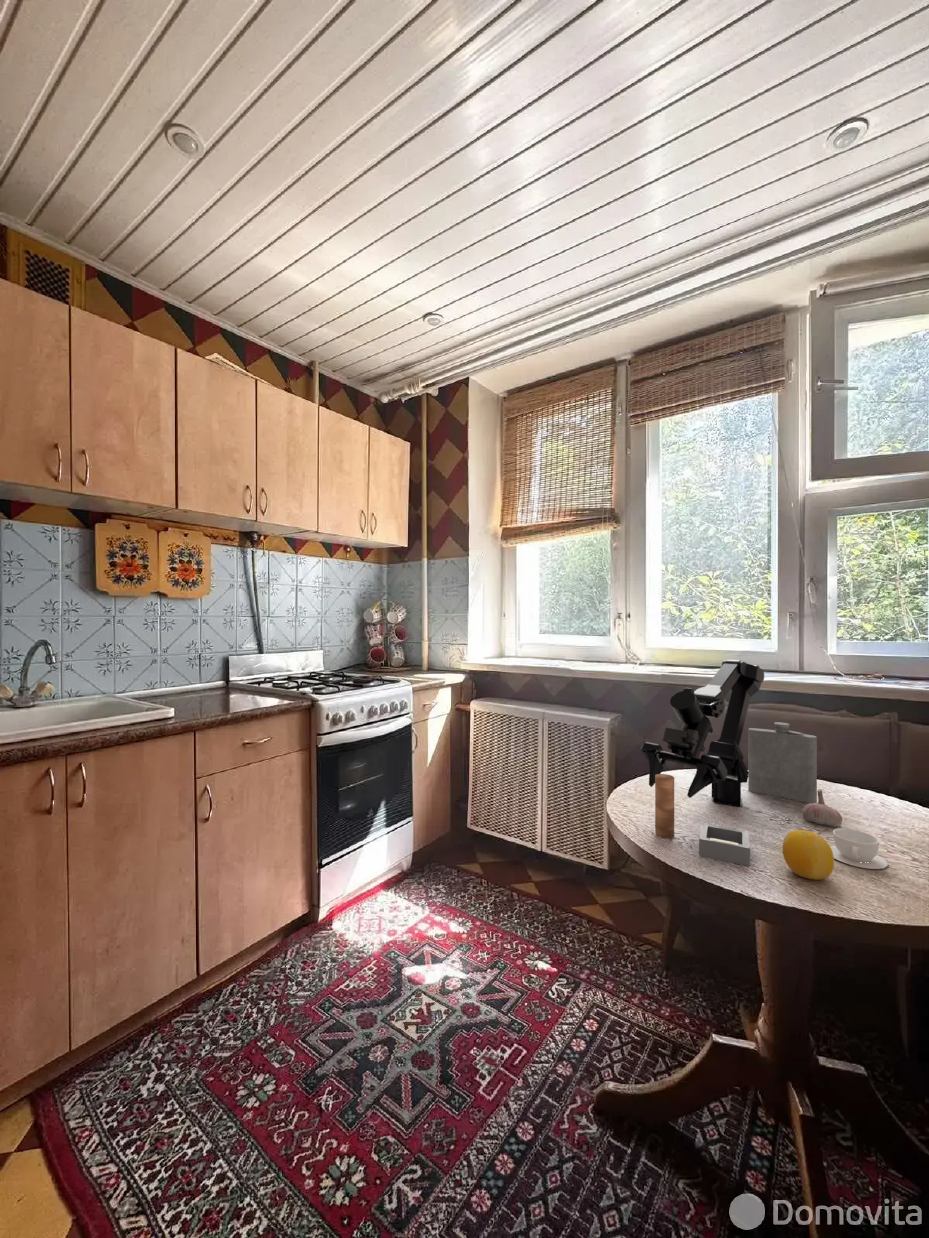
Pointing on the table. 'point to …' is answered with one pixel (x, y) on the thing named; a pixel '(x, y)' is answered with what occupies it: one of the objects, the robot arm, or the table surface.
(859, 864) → the teacup
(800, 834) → the fruit
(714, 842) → the socket block
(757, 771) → the hip flask
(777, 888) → the table surface
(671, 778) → the peg
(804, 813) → the garlic bulb
